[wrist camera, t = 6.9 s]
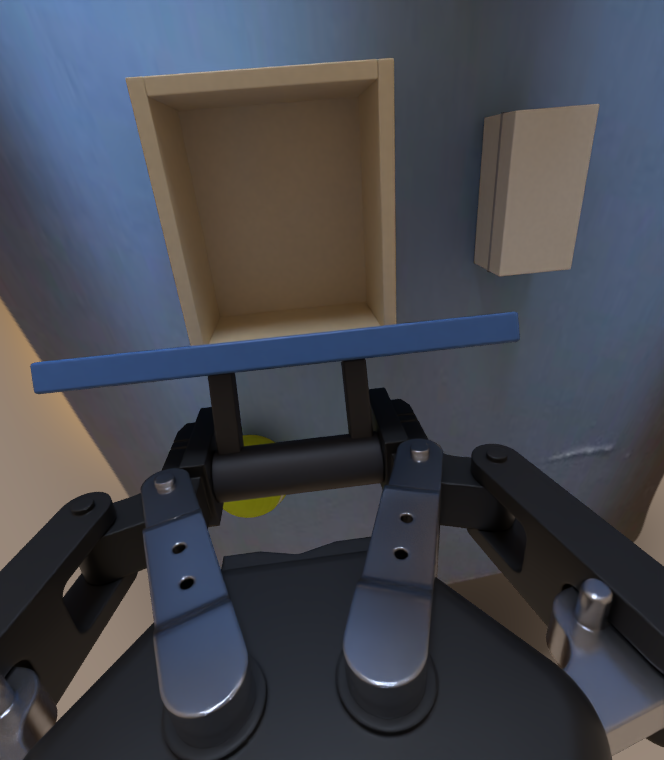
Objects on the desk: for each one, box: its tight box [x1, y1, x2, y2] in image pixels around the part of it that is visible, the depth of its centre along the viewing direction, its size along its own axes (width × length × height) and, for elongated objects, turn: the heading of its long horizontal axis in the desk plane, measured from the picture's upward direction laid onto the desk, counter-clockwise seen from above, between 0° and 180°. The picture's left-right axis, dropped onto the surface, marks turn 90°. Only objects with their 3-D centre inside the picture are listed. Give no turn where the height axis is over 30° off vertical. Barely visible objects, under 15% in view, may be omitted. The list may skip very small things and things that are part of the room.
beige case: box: [474, 104, 599, 276], centre depth 29 cm, size 10×5×4 cm, turn 4°
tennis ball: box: [223, 435, 285, 518], centre depth 36 cm, size 7×7×7 cm
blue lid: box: [30, 312, 520, 503], centre depth 19 cm, size 15×13×5 cm
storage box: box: [126, 58, 396, 346], centre depth 27 cm, size 15×13×7 cm
